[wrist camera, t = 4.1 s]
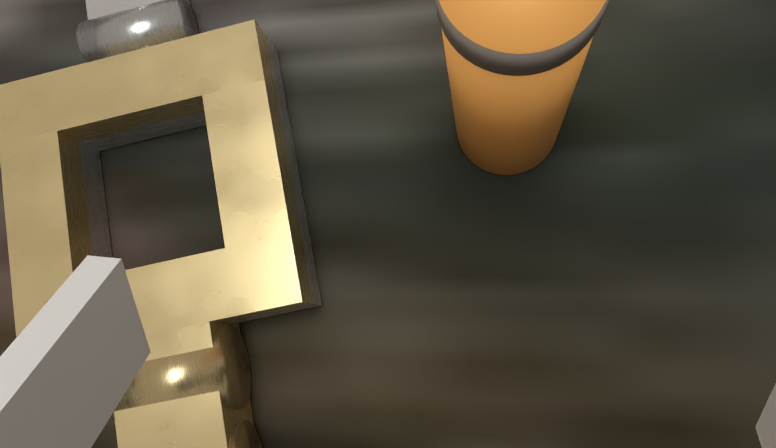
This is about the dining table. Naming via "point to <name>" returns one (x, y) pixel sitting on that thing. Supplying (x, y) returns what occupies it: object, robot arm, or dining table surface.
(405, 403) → the dining table surface
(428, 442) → the dining table surface
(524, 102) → the orange pin
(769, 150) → the dining table surface
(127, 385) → the robot arm
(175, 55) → the square loop key
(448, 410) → the dining table surface
